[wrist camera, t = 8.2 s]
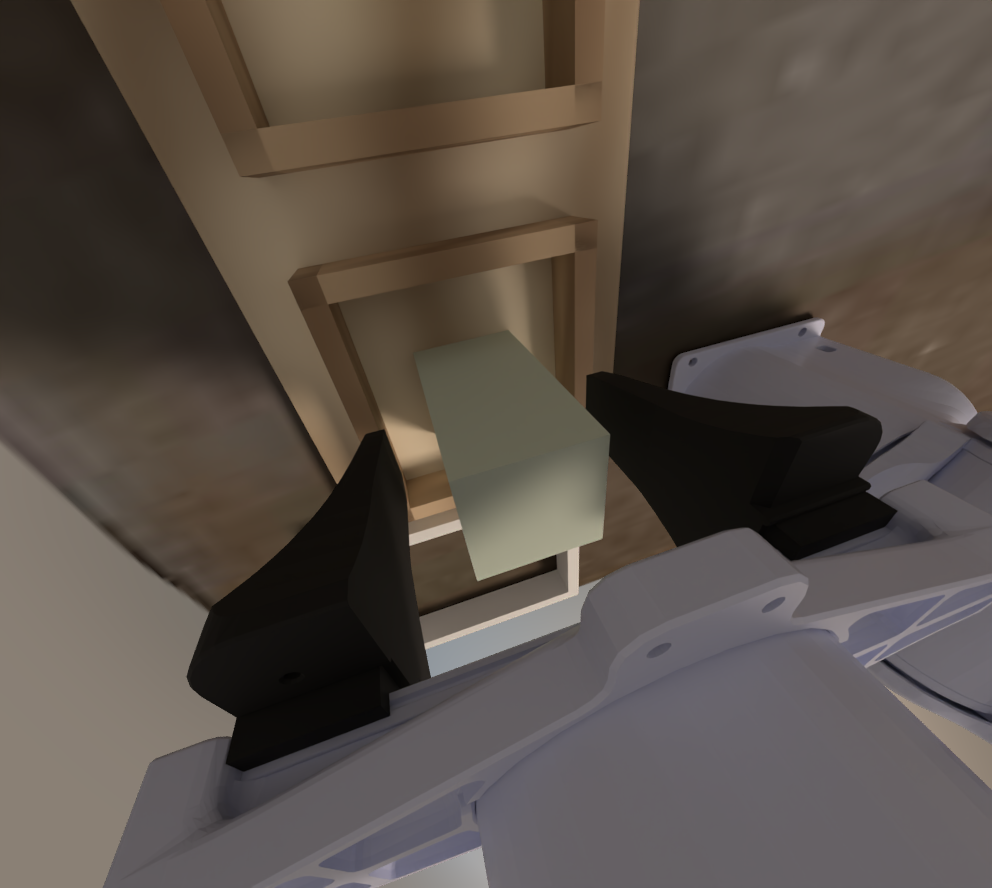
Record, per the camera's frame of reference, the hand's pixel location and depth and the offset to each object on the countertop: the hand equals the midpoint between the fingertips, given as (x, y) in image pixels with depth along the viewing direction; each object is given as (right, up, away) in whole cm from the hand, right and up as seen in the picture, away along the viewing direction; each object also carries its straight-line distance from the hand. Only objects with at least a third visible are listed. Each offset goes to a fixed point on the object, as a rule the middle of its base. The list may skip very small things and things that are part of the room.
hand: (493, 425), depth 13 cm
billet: (-1, +2, +3) cm, 4 cm away
